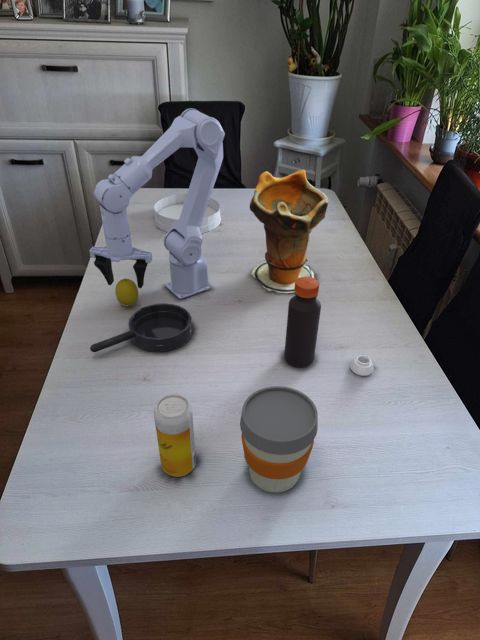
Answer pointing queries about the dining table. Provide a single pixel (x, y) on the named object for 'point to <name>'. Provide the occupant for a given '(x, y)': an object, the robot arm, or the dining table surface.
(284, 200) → the decorative vase
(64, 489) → the dining table surface
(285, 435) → the reusable coffee cup
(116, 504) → the dining table surface
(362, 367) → the lidless jar
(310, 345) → the bottle
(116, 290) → the lemon
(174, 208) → the dish
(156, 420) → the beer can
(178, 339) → the pan
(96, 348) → the pan handle
